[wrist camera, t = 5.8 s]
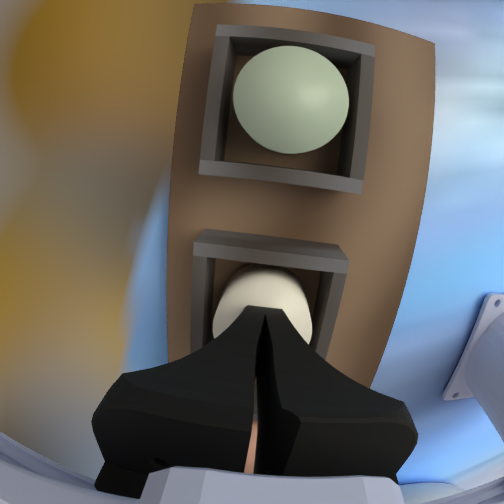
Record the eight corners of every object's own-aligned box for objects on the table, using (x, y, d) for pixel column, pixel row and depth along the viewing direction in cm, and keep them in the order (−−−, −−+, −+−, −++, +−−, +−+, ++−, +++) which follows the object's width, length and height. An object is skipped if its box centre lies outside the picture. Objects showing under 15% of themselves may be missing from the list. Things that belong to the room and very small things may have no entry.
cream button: (312, 267, 13) (320, 292, 10) (298, 340, 14) (302, 374, 11) (225, 257, 13) (215, 279, 11) (220, 331, 14) (210, 363, 12)
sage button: (337, 74, 10) (352, 56, 8) (328, 160, 12) (342, 161, 9) (246, 63, 11) (239, 41, 8) (236, 149, 12) (227, 146, 9)
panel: (424, 50, 11) (457, 29, 8) (330, 454, 19) (335, 490, 15) (199, 14, 11) (181, -19, 8) (179, 439, 19) (168, 475, 16)
